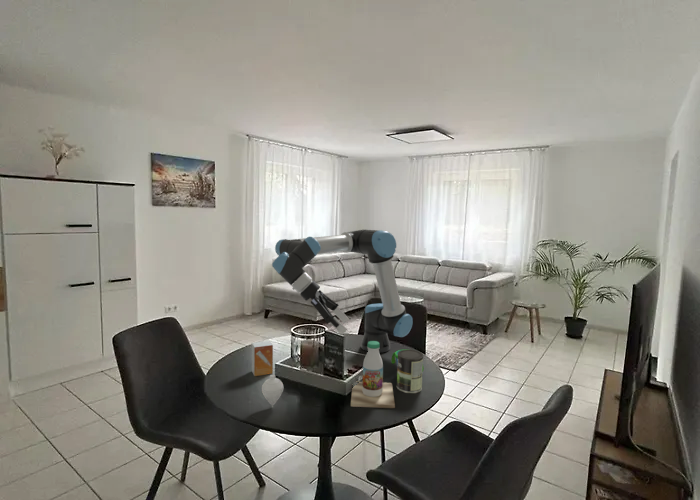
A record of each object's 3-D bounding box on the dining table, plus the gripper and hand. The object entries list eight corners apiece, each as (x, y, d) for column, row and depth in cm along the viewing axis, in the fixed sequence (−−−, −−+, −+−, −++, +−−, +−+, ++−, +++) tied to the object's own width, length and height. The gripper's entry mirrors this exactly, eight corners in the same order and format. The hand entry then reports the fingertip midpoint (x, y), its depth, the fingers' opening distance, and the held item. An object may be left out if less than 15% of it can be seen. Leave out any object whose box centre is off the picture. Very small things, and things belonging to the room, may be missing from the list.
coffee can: (397, 393, 151) (398, 358, 149) (395, 381, 161) (396, 348, 160) (423, 394, 150) (425, 359, 149) (420, 382, 160) (421, 349, 159)
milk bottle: (360, 388, 151) (361, 339, 149) (379, 387, 152) (380, 338, 150) (364, 398, 143) (366, 346, 141) (384, 396, 145) (386, 345, 143)
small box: (254, 376, 163) (254, 347, 162) (251, 371, 169) (251, 342, 167) (273, 373, 166) (273, 344, 165) (269, 368, 172) (269, 340, 171)
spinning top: (278, 400, 143) (278, 369, 142) (286, 409, 137) (286, 377, 136) (258, 405, 139) (258, 373, 138) (266, 415, 133) (266, 381, 132)
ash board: (352, 384, 158) (352, 381, 158) (391, 385, 157) (391, 382, 157) (350, 406, 140) (350, 403, 140) (394, 408, 139) (394, 405, 139)
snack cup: (385, 373, 169) (385, 350, 168) (401, 367, 176) (402, 345, 175) (412, 385, 157) (412, 361, 156) (428, 379, 164) (429, 356, 163)
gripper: (304, 286, 158) (341, 323, 159) (292, 301, 133) (335, 344, 134) (317, 274, 157) (353, 310, 158) (307, 286, 132) (351, 329, 133)
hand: (345, 326), depth 146 cm, fingers open, 13 cm apart
